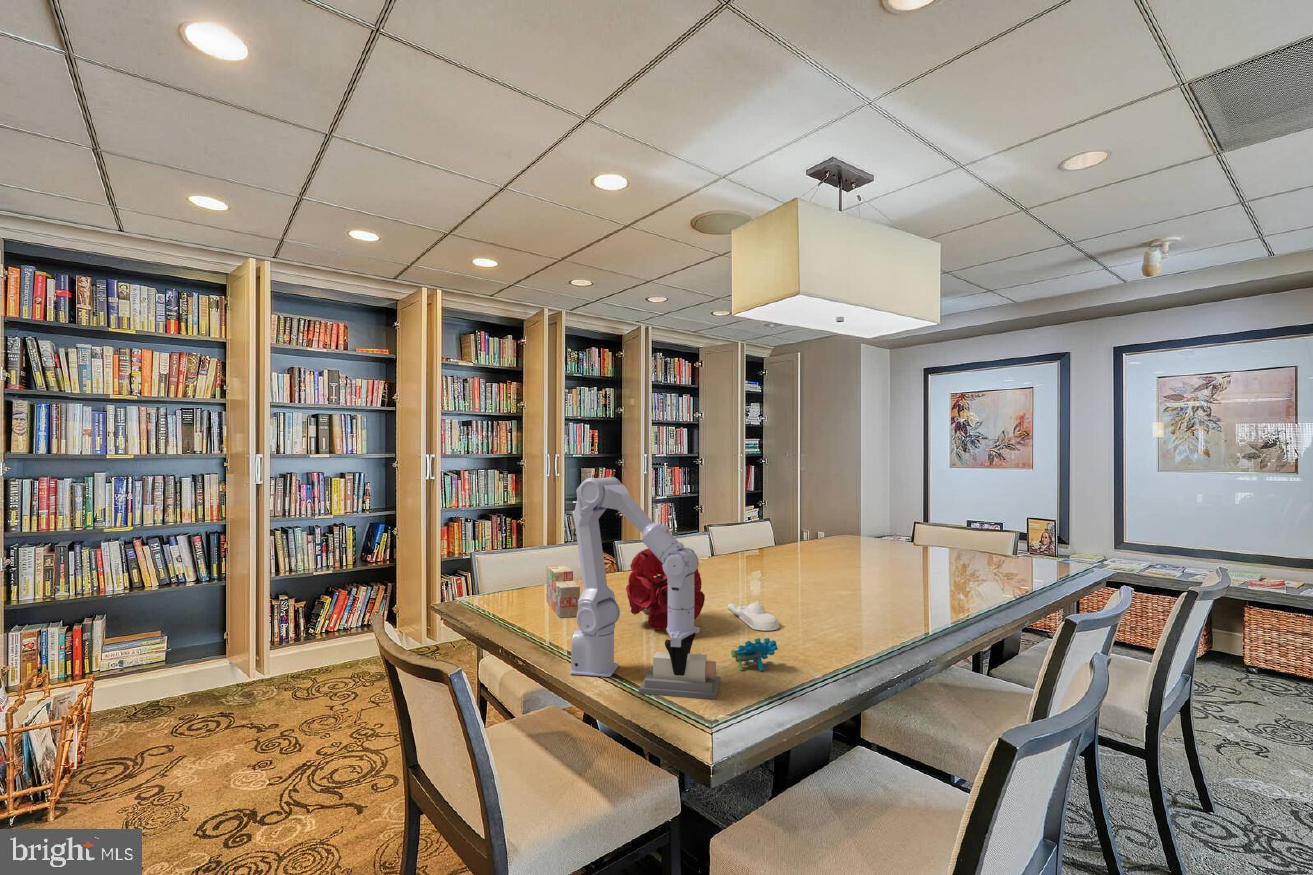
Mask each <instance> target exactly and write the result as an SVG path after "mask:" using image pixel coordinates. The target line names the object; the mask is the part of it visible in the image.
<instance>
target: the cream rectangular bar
mask: <svg viewBox="0 0 1313 875" xmlns="http://www.w3.org/2000/svg"><path fill="white" fill-rule="evenodd" d="M652 666H653V679H666V680H679V681H693V682H706V680H707V679H713V680H715V679H716V676H717V661H713V660H708V654H701V653H690V654H689V653H688V657H687V663H686V670H685V673H684V676H681V675H674V672H673V668H672V663H671V658H670V655H669V652H668V651H656V652H655V654H654V655H653V657H652Z"/></svg>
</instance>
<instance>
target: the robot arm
mask: <svg viewBox="0 0 1313 875" xmlns="http://www.w3.org/2000/svg"><path fill="white" fill-rule="evenodd" d="M575 490H576V498H577V499H576V503H575V508H574V510H573V511H574V512H573V517H574V525H575V533H576V542H577V548H578V555H579V556H578V557H579V565H580V572H581V579H582V587H583V590H582V593H581V594H580V598H579V600H578V612H577V616H575V618H576V624H577V627H578V628H579V629H576V630H575V631H574V632H573V635H572V639H571V645H570V646H571V648H570V649H571V650H570V651H571V655H570V656H571V658H570V661H571V662H570V664H571V665H570V668H571V669H570V672H569V674H570V675H577V676H578V675H579V676H592V677H603V678H610V677H612V676H613V674H614V673H615V671H616V670H617V668H618V667H619V666H620V663H619V662H615V629H616V623H617V622H618V621H619V619H620V616H621V609H620V605H619V604H618V602H617V600H616V597H615V592H614V591H613V590H612V589H611V588H610V587H609V586H608V583H607V581H608V580H607V574H606V573H607V572H606V567H605V559H604V558H605V557H604V550H603V545H602V543H603V542H602V536H601V529H600V522H599V519H600V518H601V516H602V515H603V514H604V513H605V511H606V510H607V509H609V510H610V509H612V510H617V511H618V512H619V513H620V514H621V515H622V516H624V517H625V518H626V519H627V520H628V521H629V522H630V523H631V525H633V526H634V527H635V528H636V529H637V530H638V531H639V532H640V533H641V537H642V538H641V539H642V540H641V541H642V543H643V544H644V545H645V546H646V547H647V549H648V548H649V549H650V550H651V551H652V553H653V554H654V555H655V556H656V557H657V558H658V559H659V560H660V561H661V562H662V563H663V565H662V566H663V571H664V573H665V574H666V576H667V579H668V626H667V629H666V633H667V634H668V636H669V637H670V639H665V641H664V646H665V648H666V650H667V652H669V655H670V658H671V663H672V668H673V672H674V675H681V676H684V673H685V670H686V663H687V657H688V653H689V654H691V651H692V646H693V642H694V639H695V638H696V636H697V634H698V633H700V631H701V628H700V627H699V626H695V620H694V572H695V571H696V570H697V568H699V558H698V555H697V553H696V552H695V550H694V549H693V548H690V547H685V544H684V543H682V542H680V541H678V539H677V538H675V536H674V535H673V534H672V533H671V532H670V527H669V526H668V525H663V524H662V523H659V522H657V523H655V522H653V521H652V520H651V518H650V516H648V515H647V513H646V512H645V511H644V510H643V508H642V507H641V506H640V505H639V503H638V502H637V501H636V500H635V499H634V497H633V496H632V495H631V494H630V492H629V491H628V488H627V487H626V486H625V485H624V484H622V483H621V481H620V480H619V479H618V478H616V477H614V476H607V477H597V478H594V477H589V478H585V480H583V481H581V483H580V485H579V486H578V487H577V488H576V489H575ZM692 573H693V574H692ZM688 575H689V576H688Z"/></svg>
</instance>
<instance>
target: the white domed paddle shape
mask: <svg viewBox="0 0 1313 875" xmlns="http://www.w3.org/2000/svg"><path fill="white" fill-rule="evenodd" d="M741 604H742V603H741V601H738V606H736V605H735V604H734V603H732V602H729V603H728V605H727V610H728V611H730V613H733V614H734V615H736V616H737V617H738V618H739V619H740V620H741V621H742V622H744V623H745V624H746V625H747V626H749V628H751V629H752V630H755V631H762V632H765V631H767V632H768V631H775V630H776V631H777V630H778V629H780V625H779V620H778V617H776V616H774V615H773V614H771V613H769V612H767V611H766V609H765V607H764V605H763V604H761V603H759V601H758V600H756V601H753V602H751V603H750V604H748V605H741Z"/></svg>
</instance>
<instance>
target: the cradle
mask: <svg viewBox="0 0 1313 875" xmlns="http://www.w3.org/2000/svg"><path fill="white" fill-rule="evenodd" d="M720 685H721V676H720V675H719V676H718V675H716V679H715V680H713V679H707V680H706V682H693V681H679V680H666V679H653V665H652V666H651V670H648V672H647V674H646V675H645V677H644V679H643V681H642V683H641V684H640V686H639V688H638V694H641V695H653V696H654V695H656V696H669V697H678V698H679V697H681V698H693V699H704V700H717V699H718V695H719V689H720Z"/></svg>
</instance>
